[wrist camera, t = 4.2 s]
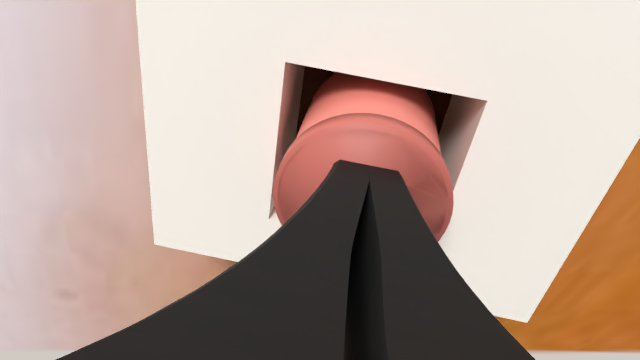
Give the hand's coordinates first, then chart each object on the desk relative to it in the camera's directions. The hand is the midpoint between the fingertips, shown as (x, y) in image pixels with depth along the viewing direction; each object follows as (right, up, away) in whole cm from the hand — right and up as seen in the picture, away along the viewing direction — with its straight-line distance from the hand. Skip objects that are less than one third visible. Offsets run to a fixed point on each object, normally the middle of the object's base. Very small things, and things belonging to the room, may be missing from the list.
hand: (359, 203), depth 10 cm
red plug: (+1, +2, +3) cm, 4 cm away
